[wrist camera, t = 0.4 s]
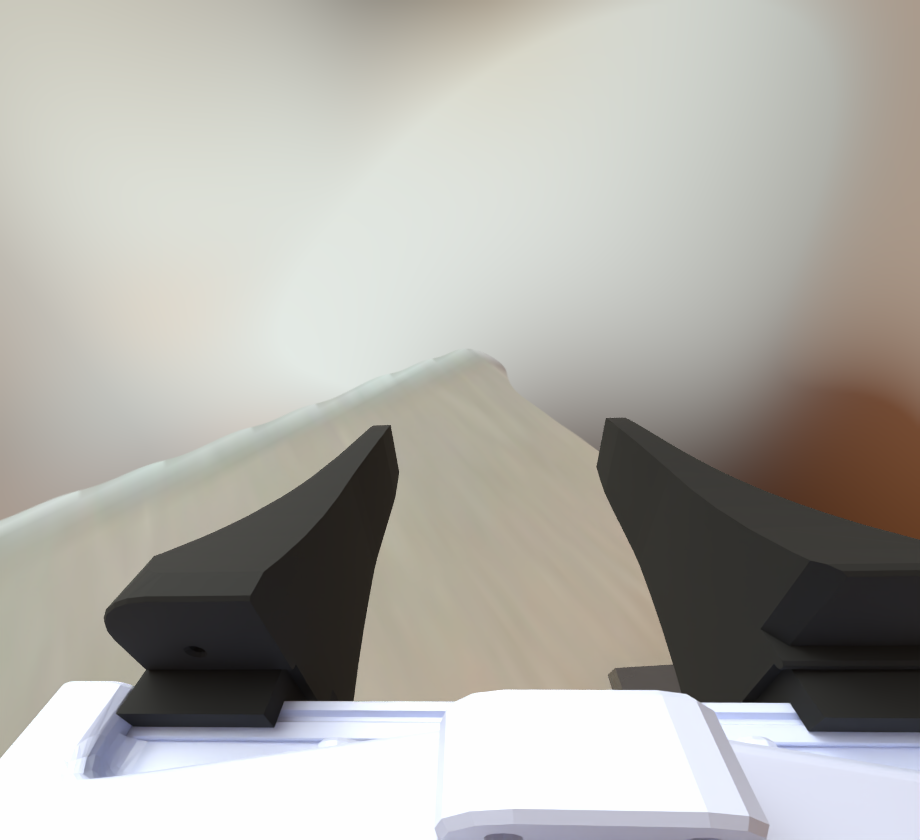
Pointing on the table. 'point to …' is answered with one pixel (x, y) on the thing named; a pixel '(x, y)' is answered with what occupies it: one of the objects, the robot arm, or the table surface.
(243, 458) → the table surface
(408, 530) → the table surface
